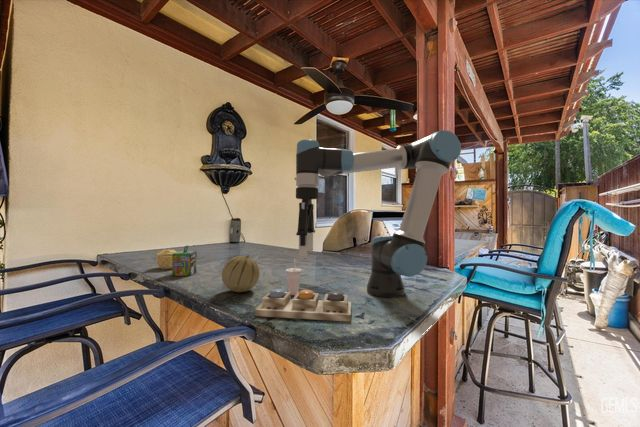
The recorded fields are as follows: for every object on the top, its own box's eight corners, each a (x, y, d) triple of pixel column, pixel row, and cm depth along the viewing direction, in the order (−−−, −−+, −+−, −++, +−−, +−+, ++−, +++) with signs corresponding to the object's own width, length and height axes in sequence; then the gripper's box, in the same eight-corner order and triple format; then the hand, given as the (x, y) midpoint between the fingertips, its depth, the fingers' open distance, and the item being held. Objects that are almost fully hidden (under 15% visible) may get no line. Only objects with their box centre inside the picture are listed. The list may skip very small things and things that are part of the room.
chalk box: (179, 272, 144) (179, 244, 143) (196, 272, 145) (197, 244, 144) (171, 276, 134) (171, 247, 134) (190, 276, 135) (190, 246, 135)
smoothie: (298, 296, 104) (299, 260, 104) (283, 295, 105) (283, 260, 105) (303, 292, 110) (303, 257, 110) (288, 291, 112) (288, 257, 112)
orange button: (314, 297, 93) (314, 290, 93) (312, 302, 88) (312, 294, 88) (300, 296, 93) (300, 289, 93) (297, 301, 88) (297, 294, 88)
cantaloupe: (216, 290, 112) (217, 254, 112) (250, 284, 121) (250, 251, 121) (229, 299, 100) (229, 259, 100) (265, 292, 109) (265, 255, 109)
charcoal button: (343, 298, 91) (343, 291, 91) (342, 303, 86) (343, 296, 86) (328, 298, 92) (328, 290, 92) (327, 303, 87) (327, 295, 87)
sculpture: (154, 271, 146) (154, 251, 146) (159, 266, 157) (159, 248, 157) (177, 269, 150) (177, 250, 150) (181, 265, 161) (181, 247, 161)
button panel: (350, 307, 93) (351, 294, 93) (350, 321, 81) (350, 306, 81) (266, 303, 97) (267, 290, 97) (254, 315, 85) (254, 301, 85)
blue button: (286, 296, 94) (286, 288, 94) (282, 300, 89) (282, 293, 89) (272, 295, 94) (272, 288, 94) (267, 300, 90) (267, 292, 90)
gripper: (302, 189, 102) (301, 248, 102) (287, 183, 80) (286, 258, 80) (322, 190, 101) (321, 249, 101) (312, 183, 79) (311, 259, 79)
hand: (306, 253), depth 90 cm, fingers open, 10 cm apart
